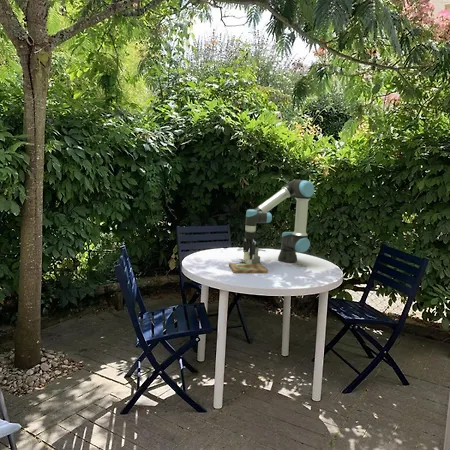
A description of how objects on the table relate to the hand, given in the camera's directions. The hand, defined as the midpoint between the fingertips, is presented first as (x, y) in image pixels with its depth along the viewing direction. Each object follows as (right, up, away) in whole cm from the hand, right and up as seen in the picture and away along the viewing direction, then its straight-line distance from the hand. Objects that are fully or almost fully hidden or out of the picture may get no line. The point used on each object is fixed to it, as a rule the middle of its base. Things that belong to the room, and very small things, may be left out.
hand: (248, 263), depth 302 cm
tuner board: (-1, -4, -2) cm, 5 cm away
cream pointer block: (-3, -2, -1) cm, 4 cm away
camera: (+2, -2, +17) cm, 17 cm away
